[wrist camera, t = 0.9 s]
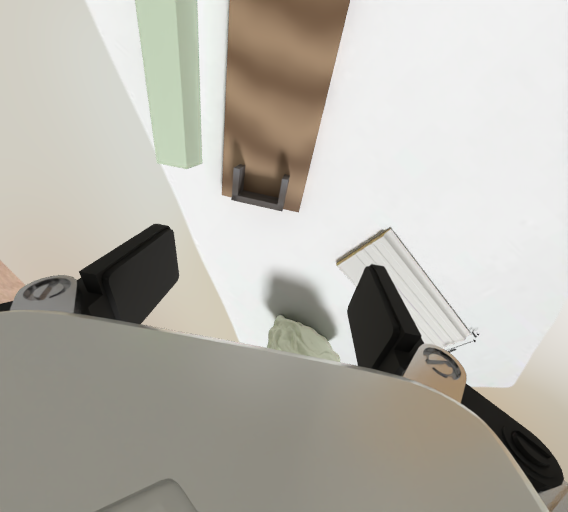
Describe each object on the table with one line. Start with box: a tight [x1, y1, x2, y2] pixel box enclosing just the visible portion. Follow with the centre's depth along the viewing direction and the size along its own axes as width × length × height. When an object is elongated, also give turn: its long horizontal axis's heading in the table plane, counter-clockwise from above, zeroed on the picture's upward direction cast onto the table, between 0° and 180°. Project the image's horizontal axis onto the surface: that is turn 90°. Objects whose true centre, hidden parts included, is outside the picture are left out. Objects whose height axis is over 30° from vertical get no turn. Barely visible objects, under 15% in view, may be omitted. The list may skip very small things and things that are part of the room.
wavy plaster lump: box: [267, 315, 340, 362], centre depth 45 cm, size 18×13×16 cm
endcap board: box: [222, 0, 350, 212], centre depth 24 cm, size 31×12×4 cm, turn 169°
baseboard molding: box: [336, 228, 479, 353], centre depth 41 cm, size 31×3×12 cm
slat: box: [135, 0, 202, 169], centre depth 24 cm, size 26×4×5 cm, turn 170°
